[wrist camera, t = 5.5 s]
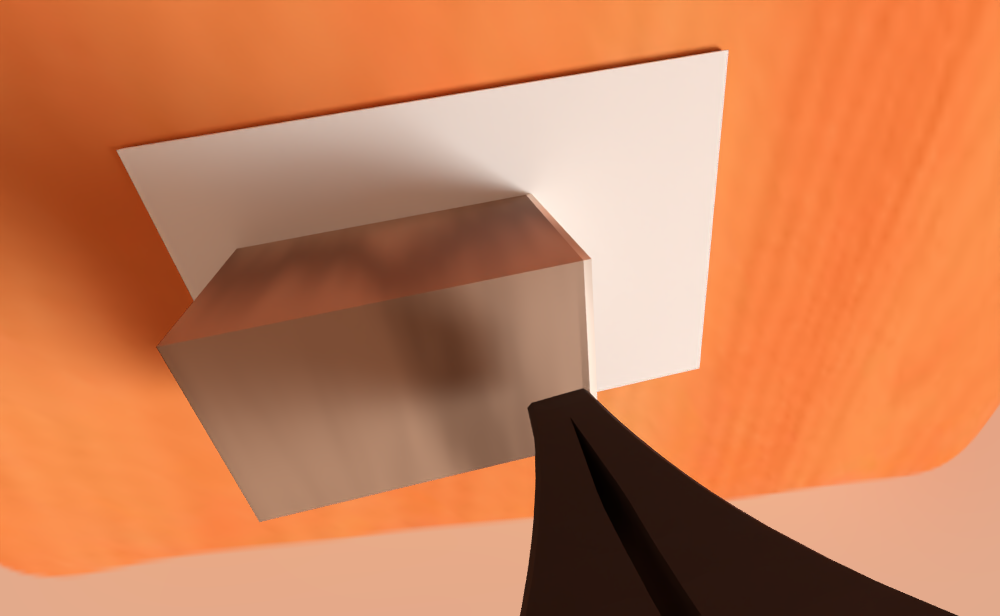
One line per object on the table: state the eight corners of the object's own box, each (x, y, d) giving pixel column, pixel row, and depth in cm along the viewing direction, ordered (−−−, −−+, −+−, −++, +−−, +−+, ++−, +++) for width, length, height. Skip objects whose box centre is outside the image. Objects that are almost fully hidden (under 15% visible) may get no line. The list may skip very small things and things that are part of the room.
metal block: (591, 258, 11) (156, 346, 11) (599, 440, 14) (259, 521, 13) (531, 193, 17) (236, 248, 16) (545, 337, 20) (298, 390, 19)
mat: (723, 49, 16) (728, 49, 16) (695, 364, 22) (699, 368, 22) (121, 148, 14) (116, 150, 14) (279, 460, 20) (278, 465, 20)
